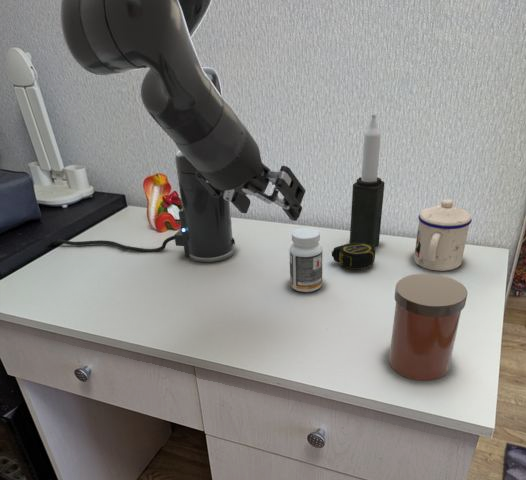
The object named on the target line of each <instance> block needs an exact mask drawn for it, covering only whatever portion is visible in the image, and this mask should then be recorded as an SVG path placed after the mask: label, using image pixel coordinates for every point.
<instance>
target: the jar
mask: <svg viewBox="0 0 526 480" xmlns="http://www.w3.org/2000/svg"><path fill="white" fill-rule="evenodd" d="M393 296H394V301H395V306H394V307H395V309H394V315H393V324H392V332H391V338H390V339H391V340H390V348H389V356H388V363H389V365H390V367H391V368H392V370H393V371H394V372H395V373H397V374H398V375H401V376H402V377H404V378H406V379H410V380H415V381H421V382H422V381H423V382H425V381H426V382H428V381H434V380H438V379H441V378H443V377H444V376H445V375H446V374H447V373H448V371H449V370H450V365H451V361H452V357H453V351H454V346H455V341H456V337H457V334H458V333H457V332H458V328H459V324H460V319H461V314H462V311H463V310H464V308H465V307H466V303H467V298H468V289H467V288H466V286H465V285H464V284H463V283H462V282H460V281H459V280H457V279H454V278H452V277H449V276H447V275H446V276H445V275H441V274H436V273H416V274H410V275H406V276H404V277H402V278H401V279H399V280H398V281H397V282H396V284H395V288H394V295H393Z"/></svg>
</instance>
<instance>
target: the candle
mask: <svg viewBox="0 0 526 480" xmlns="http://www.w3.org/2000/svg"><path fill="white" fill-rule="evenodd" d="M376 117H377V113H376V112H373V113H372V114H371V119H370V123H369V125H368V126H367V127H368V128H367V129H366V130H365V132H364V134H363V146H362V148H363V149H362V161H361V162H362V163H361V176H360V177H358V178H356V182H354V183H353V184H352V192H351V193H352V195H351V209H350V210H351V211H350V229H349V244H350V243H354V242H364V243H367V244H371V245H372V246H373V247H374V248H375V249H376V248H377V247H379V245H380V235H381V225H382V216H383V206H384V193H385V184H386V183H385V181H384V180H382V178H380V177H378V174H379V173H378V172H379V161H380V160H379V159H380V149H381V148H380V147H381V137H382V133H381V131H380V129H379V127H378V122H377V118H376Z"/></svg>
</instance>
